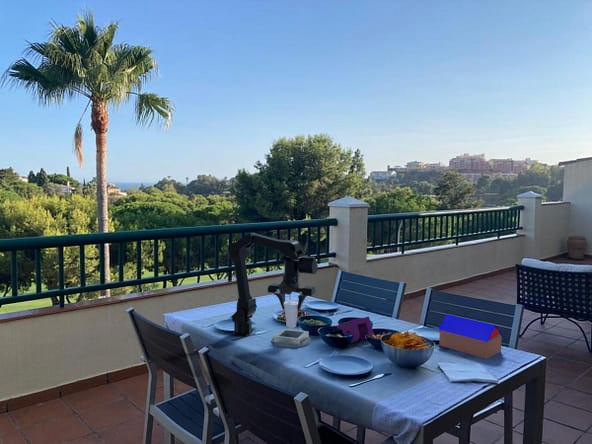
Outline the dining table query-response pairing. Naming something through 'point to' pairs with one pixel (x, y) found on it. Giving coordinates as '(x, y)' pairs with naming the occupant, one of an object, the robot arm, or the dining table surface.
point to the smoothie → (291, 312)
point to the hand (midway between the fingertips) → (291, 310)
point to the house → (470, 336)
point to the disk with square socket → (291, 338)
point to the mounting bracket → (357, 328)
